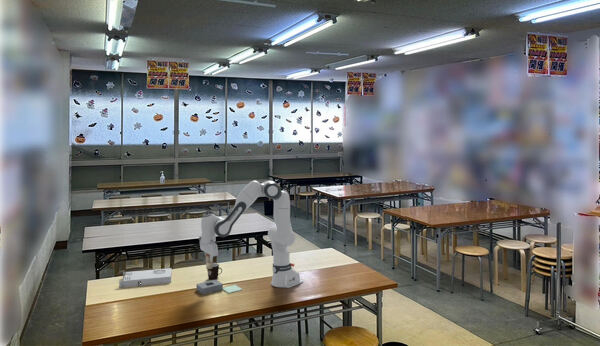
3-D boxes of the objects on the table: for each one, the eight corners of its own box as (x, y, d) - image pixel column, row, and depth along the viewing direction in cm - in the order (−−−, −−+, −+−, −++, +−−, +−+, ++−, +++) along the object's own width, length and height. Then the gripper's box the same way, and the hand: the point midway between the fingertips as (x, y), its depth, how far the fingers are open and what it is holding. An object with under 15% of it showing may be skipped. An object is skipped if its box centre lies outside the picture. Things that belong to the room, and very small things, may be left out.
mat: (235, 285, 278) (235, 284, 278) (242, 290, 270) (242, 289, 270) (221, 288, 272) (221, 288, 272) (228, 293, 264) (228, 292, 264)
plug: (211, 266, 272) (210, 253, 271) (213, 268, 268) (213, 254, 268) (205, 267, 269) (204, 254, 268) (207, 269, 266) (207, 255, 265)
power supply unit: (123, 279, 292) (122, 272, 292) (171, 274, 302) (171, 268, 301) (119, 288, 274) (119, 281, 274) (171, 283, 283) (170, 276, 283)
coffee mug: (204, 278, 292) (204, 264, 291) (216, 275, 297) (215, 262, 297) (211, 282, 283) (211, 268, 282) (223, 280, 288) (223, 266, 287)
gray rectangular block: (216, 285, 278) (216, 279, 278) (222, 289, 270) (222, 283, 270) (196, 289, 270) (196, 284, 270) (202, 294, 262) (202, 288, 262)
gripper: (220, 241, 261) (220, 262, 262) (206, 235, 277) (207, 255, 278) (210, 242, 257) (211, 264, 258) (197, 236, 273) (198, 256, 274)
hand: (209, 259), depth 268 cm, fingers closed on plug, 4 cm apart
